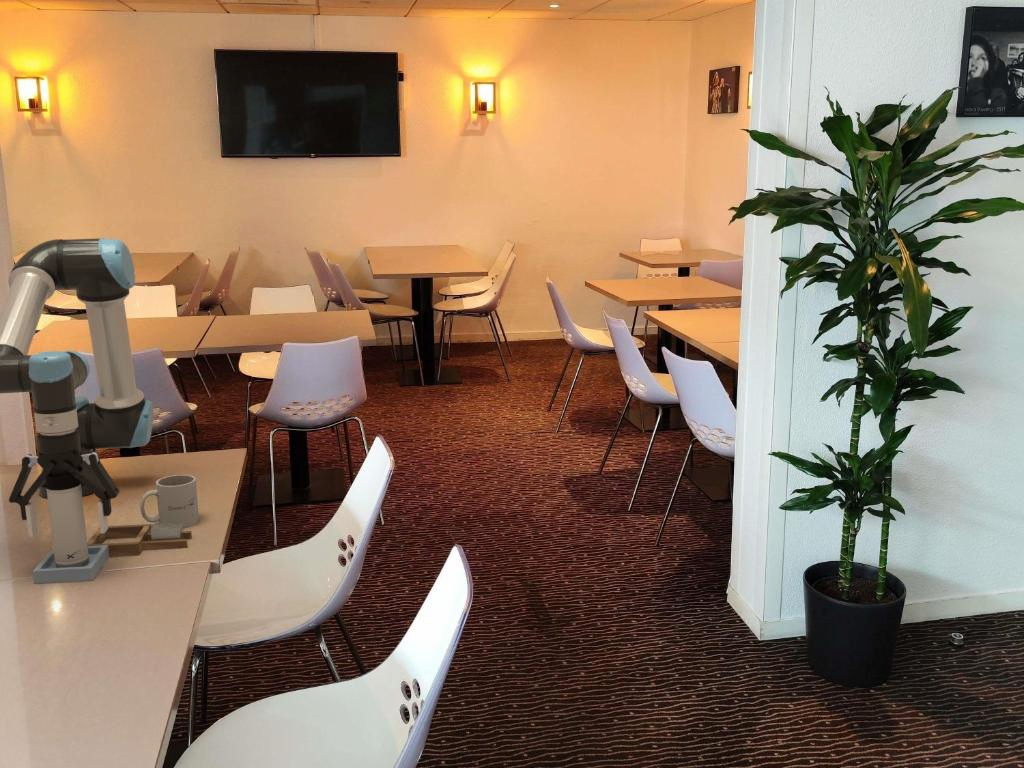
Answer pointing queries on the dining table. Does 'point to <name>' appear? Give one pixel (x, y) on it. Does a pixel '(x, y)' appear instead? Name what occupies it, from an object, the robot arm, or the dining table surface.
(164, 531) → the light gray block
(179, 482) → the mug
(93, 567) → the tray
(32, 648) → the dining table surface
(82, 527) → the travel mug
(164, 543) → the brown flat open frame
